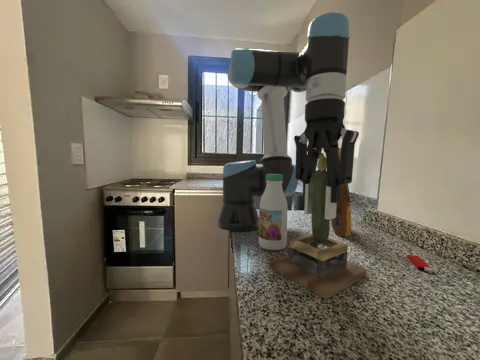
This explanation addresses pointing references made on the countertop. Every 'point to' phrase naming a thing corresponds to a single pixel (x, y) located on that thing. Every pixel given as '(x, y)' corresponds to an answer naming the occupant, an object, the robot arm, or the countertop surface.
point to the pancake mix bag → (342, 212)
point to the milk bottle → (273, 215)
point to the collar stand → (319, 266)
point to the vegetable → (319, 201)
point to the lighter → (420, 264)
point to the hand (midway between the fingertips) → (319, 215)
